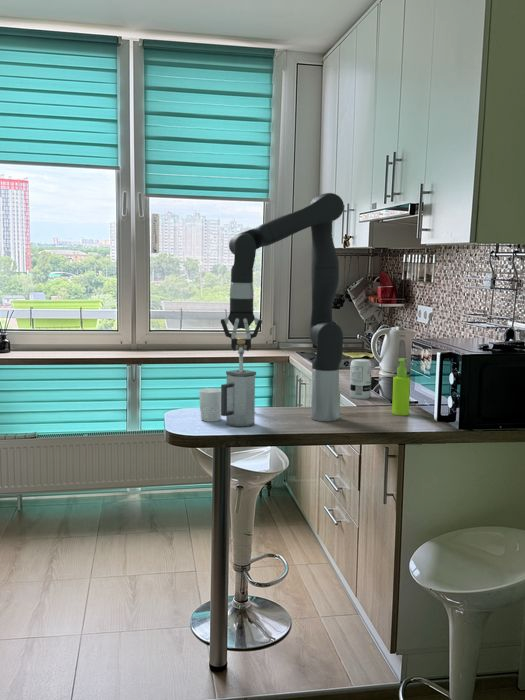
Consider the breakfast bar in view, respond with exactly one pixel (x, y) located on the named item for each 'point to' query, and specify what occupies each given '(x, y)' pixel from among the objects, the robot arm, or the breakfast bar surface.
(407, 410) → the soap dispenser
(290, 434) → the breakfast bar surface
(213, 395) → the white cup
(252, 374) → the carafe
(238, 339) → the plunger
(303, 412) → the breakfast bar surface
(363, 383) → the supplement can
